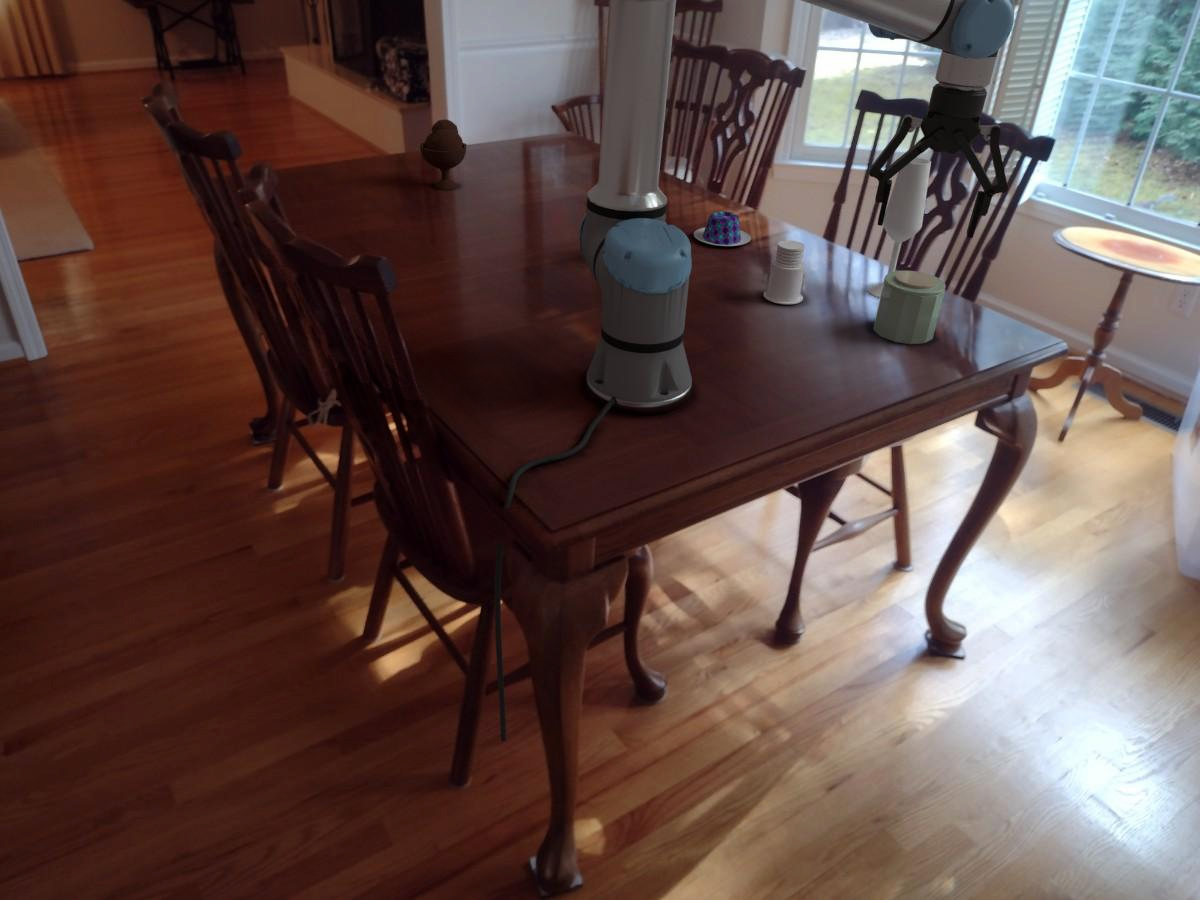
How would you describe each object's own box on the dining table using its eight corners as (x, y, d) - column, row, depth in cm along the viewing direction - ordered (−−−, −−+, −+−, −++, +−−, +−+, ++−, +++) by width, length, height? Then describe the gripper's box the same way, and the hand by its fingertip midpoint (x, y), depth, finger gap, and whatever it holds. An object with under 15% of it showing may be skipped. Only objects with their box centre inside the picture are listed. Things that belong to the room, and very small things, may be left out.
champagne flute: (860, 287, 163) (888, 156, 150) (890, 283, 165) (920, 154, 152) (882, 301, 157) (913, 166, 144) (912, 297, 160) (945, 164, 146)
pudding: (723, 226, 190) (725, 202, 187) (762, 242, 182) (765, 218, 179) (681, 236, 183) (683, 211, 181) (720, 253, 175) (723, 228, 173)
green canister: (933, 347, 142) (947, 293, 137) (872, 338, 144) (884, 284, 139) (931, 324, 150) (945, 272, 144) (874, 316, 152) (886, 264, 146)
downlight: (770, 307, 153) (779, 253, 148) (754, 292, 159) (761, 239, 154) (811, 304, 155) (821, 250, 150) (794, 289, 161) (802, 236, 155)
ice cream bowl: (417, 182, 210) (412, 117, 202) (461, 178, 214) (458, 114, 206) (429, 194, 202) (424, 127, 194) (475, 190, 206) (472, 124, 198)
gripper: (1049, 90, 126) (1005, 232, 137) (873, 72, 131) (845, 211, 143) (1057, 99, 120) (1010, 247, 131) (871, 80, 125) (842, 225, 137)
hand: (924, 229), depth 137 cm, fingers open, 13 cm apart
